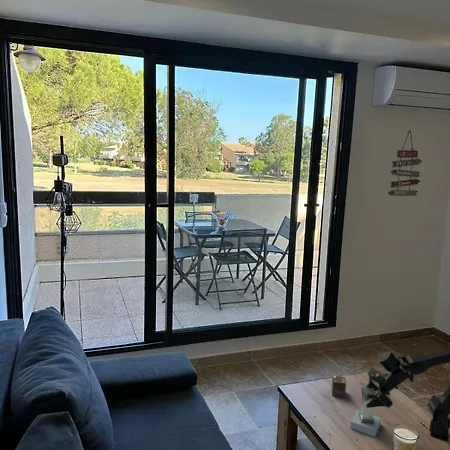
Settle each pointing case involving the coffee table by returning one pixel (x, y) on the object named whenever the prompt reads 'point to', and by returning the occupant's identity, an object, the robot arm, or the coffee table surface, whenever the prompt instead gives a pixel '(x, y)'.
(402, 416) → the coffee table surface
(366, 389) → the housing
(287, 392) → the coffee table surface
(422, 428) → the coffee table surface
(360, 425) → the stand
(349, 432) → the coffee table surface
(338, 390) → the box
